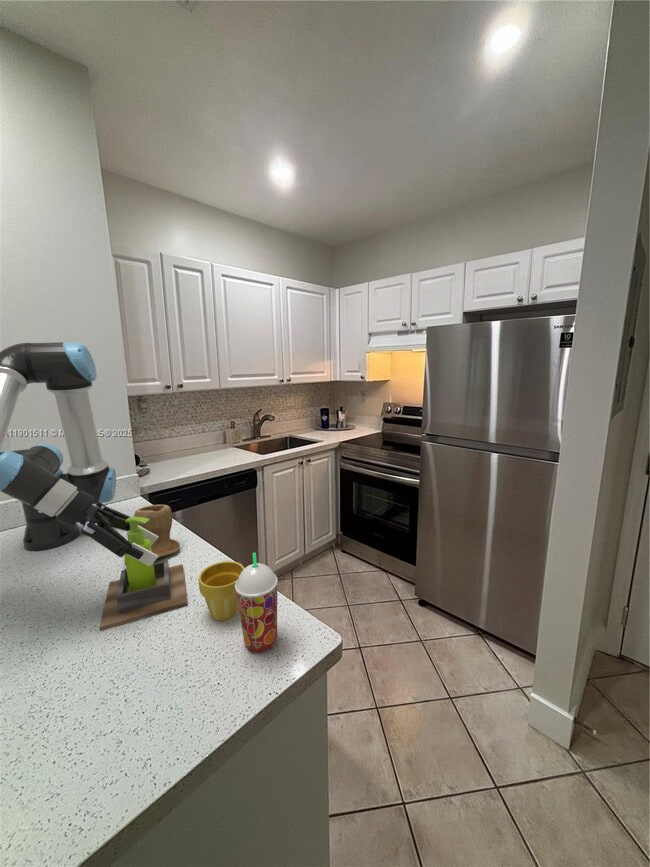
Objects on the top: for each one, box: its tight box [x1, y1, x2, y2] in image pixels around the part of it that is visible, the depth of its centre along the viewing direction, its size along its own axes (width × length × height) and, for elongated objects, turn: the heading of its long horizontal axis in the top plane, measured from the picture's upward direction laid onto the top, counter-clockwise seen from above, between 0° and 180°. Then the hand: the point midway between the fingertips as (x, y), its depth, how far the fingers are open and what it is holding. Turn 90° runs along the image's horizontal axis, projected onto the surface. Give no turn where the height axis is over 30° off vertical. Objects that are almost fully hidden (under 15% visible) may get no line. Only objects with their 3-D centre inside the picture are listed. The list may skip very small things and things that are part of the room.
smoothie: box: [235, 552, 279, 653], centre depth 71 cm, size 8×8×20 cm
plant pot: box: [198, 560, 246, 621], centre depth 81 cm, size 10×10×10 cm
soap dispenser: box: [123, 516, 156, 592], centre depth 86 cm, size 6×7×20 cm
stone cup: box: [123, 504, 181, 567], centre depth 106 cm, size 15×12×15 cm
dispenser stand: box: [98, 559, 188, 632], centre depth 88 cm, size 18×18×5 cm
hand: (154, 550), depth 88 cm, fingers open, 10 cm apart
